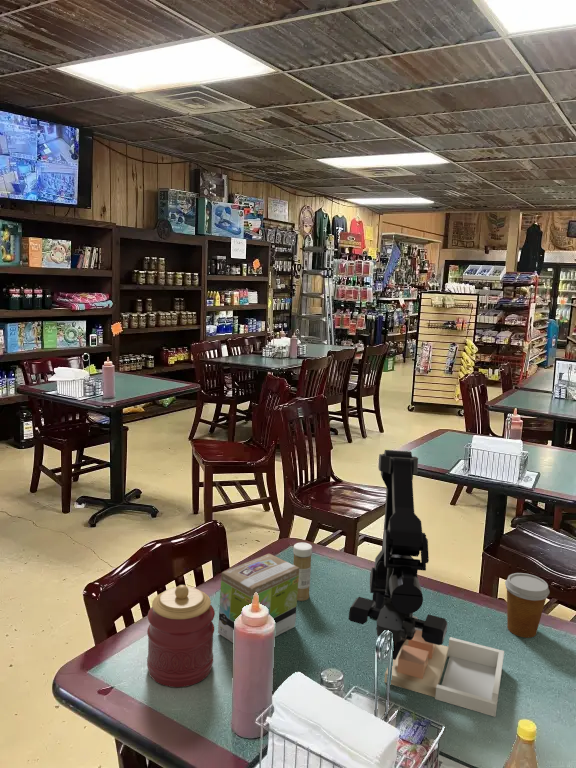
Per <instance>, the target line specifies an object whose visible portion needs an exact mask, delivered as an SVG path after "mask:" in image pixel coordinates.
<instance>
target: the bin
mask: <svg viewBox="0 0 576 768" xmlns="http://www.w3.org/2000/svg"><path fill="white" fill-rule="evenodd" d="M447 647H448V656H447V658H449V659H448V661H447V665H446V669H445V670H444V676H443V677H442V678H443V679H442V682H441V684H439V685H438V684H437V686H436V695H435V697H434V699H435V700H436V701H441V702H444V703H448V704H450V705H453V706H454V705H455V706H457V707H461V708H464V709H468V710H471V711H473V712H478V713H479V714H484V715H488V716H492V717H494V718H496V716H497V708H498V701H499V693H500V687H501V681H502V680H501V679H502V673H503V663H504V656H505V650H501V649H498V648H494V647H490V646H487V645H486V646H485V645H483V644H479V643H474V642H471V641H467V640H463V639H459V638H455V637H453V636H452V637H451V636H450V637H449V639H448V646H447Z"/></svg>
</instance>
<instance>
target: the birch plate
mask: <svg viewBox="0 0 576 768" xmlns="http://www.w3.org/2000/svg"><path fill="white" fill-rule="evenodd" d="M408 642H409V640H406V641H405V642H404V643H403V645H402V647H401V649H400V651H399V653H398V655H397V658H396V660H394V659H393V666H392V680H391V684H390V685H391V686H392V685H393V686H395V687H399V688H402V689H405V690H409V691H413V692H416V693H420V694H423V695H427V696H428V697H433V698H435V695H436V686H437V684H438V685H441V680H442V678H443V677H442V676H443V672H444V671H445V670H444V669H445V667H446V663H447V659H448V657H447V656H448V646H447V645H444V644H442V645H436V648H435V651H434V654H433V657H432V659H430V658H428V665H427V668H426V671H425V674H424V676H423V679H420V678H417V677H413V676H410V675H406V674H403V673H399V672H397V669H398V658H399V655H400V653H401V651H402V648H403V646H404V645H406V646H408ZM387 675H388V667H387V668H386V671H384V684H387V683H386V682H387Z"/></svg>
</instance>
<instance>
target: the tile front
mask: <svg viewBox="0 0 576 768" xmlns="http://www.w3.org/2000/svg"><path fill="white" fill-rule="evenodd" d="M428 653H429V651H425V650H421V649H418V648H414V647H410V646H406V645H404V646H403V648H402V651H401V653H400V655H399V658H398V669H397V672H399V673H403V674H406V675H410V676H413V677H417V678H420V679H423V676H424V674H425V671H426V668H427V665H428Z"/></svg>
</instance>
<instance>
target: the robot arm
mask: <svg viewBox="0 0 576 768" xmlns="http://www.w3.org/2000/svg"><path fill="white" fill-rule="evenodd" d="M418 465H419V458H418V457H417V456H413V454H412V451H410V450H409V451H406V450H395V449H394V450H392V449H384V452H383V453H382V454H381V453H380V454H379V456H378V471H379V472H380V477H381V479H382V481H383V483H384V485H385V487H386V488H385V489H386V491H385V492H386V493H385V503H384V504H385V505H384V507H385V508H384V520H383V536H382V548H381V550H380V551H379V553H378V554H377V555H376V557H375V559H374V567H371V571H370V574H369V591H370V594H372V599H370V598H365V597H362V596H359V597H357V598H356V599H355V600H354V602H353V603H352V604H351V605H350V607H349V611H348V620H349V621H350V622H352V623H356V624H361V625H365V624H366V623H368V620H369V618H373V619H376V628H375V630H376V635H377V637H378V636H379V635H380V634H381V633H382V632H383V631H384V630H389V631H391V632H392V633H393V641H394V651H393V659H394V660H396V658H397V655H398V653H399V651H400V649H401V647H402V645H403V643H404V642H405V641H406V640H412V639H413V637H414V634H415V632H416V630H420V631H422V638H423V639H424V640H425V642H429V643H433V644H436V645H444V644H443V643H444V640H445V637H446V635H447V631H448V622H447V620H446V618H445V617H440V616H436V615H434V614H433V615H432V614H427V616H426V618H425V620H424V619H423V620H422V619H419V617H417V616H415V615H414V613H415V612H417V611H419V610H420V608H421V607H422V605H423V603H424V597H423V591H422V587H421V583H420V580H419V577H418V571H423V572H425V571H426V570H427V564H429V559H430V558H429V557H430V556H429V539H428V538H427V535H426V533H425V532H423V526H422V521H421V518H419V517H418V515H417V514H416V513H415V503H414V485H413V482H414V481H413V479H414V475H418V467H419V466H418ZM419 556H420V558H419V559H418V557H419ZM413 557H416V558H413Z"/></svg>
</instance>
